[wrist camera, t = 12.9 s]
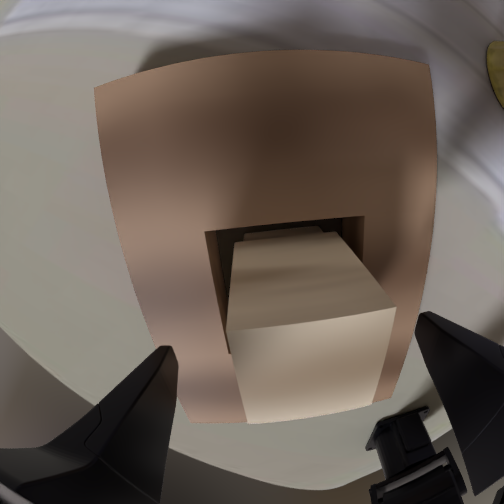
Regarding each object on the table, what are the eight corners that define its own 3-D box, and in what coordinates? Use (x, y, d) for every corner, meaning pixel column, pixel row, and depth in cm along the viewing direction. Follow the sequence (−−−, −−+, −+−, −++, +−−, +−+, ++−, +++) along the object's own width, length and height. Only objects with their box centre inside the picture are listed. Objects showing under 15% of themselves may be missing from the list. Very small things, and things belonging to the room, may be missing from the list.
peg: (324, 293, 16) (371, 404, 8) (246, 303, 16) (248, 424, 9) (324, 218, 14) (396, 307, 7) (236, 227, 14) (226, 331, 7)
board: (377, 369, 19) (390, 397, 16) (195, 391, 19) (190, 423, 16) (397, 73, 11) (428, 64, 8) (122, 95, 11) (93, 87, 8)
